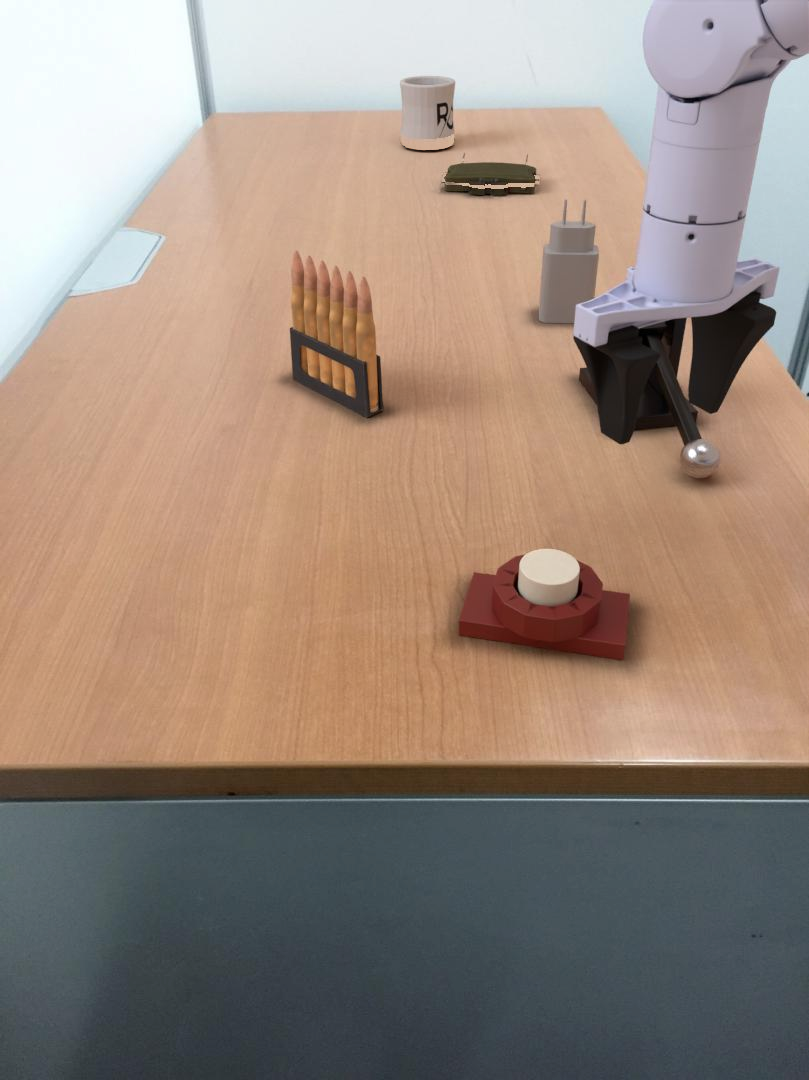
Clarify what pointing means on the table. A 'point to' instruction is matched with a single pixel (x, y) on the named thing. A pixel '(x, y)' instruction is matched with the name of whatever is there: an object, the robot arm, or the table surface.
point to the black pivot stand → (655, 382)
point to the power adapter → (568, 269)
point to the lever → (681, 411)
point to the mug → (427, 107)
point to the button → (548, 577)
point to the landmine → (490, 177)
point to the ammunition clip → (334, 337)
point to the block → (546, 614)
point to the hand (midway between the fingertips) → (660, 421)
